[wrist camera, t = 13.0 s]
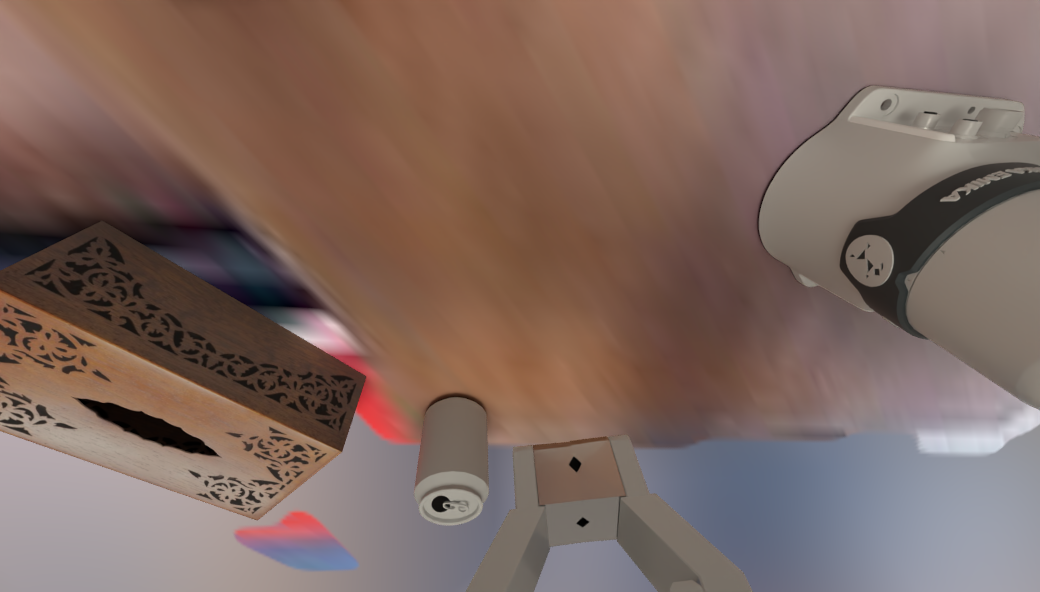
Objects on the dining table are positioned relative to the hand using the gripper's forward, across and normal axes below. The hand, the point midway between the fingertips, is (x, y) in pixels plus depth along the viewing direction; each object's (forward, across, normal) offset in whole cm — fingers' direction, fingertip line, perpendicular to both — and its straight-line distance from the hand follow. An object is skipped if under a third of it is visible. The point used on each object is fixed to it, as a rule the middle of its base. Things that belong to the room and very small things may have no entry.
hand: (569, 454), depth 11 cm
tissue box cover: (+28, -32, -15) cm, 45 cm away
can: (+28, -10, -28) cm, 41 cm away
